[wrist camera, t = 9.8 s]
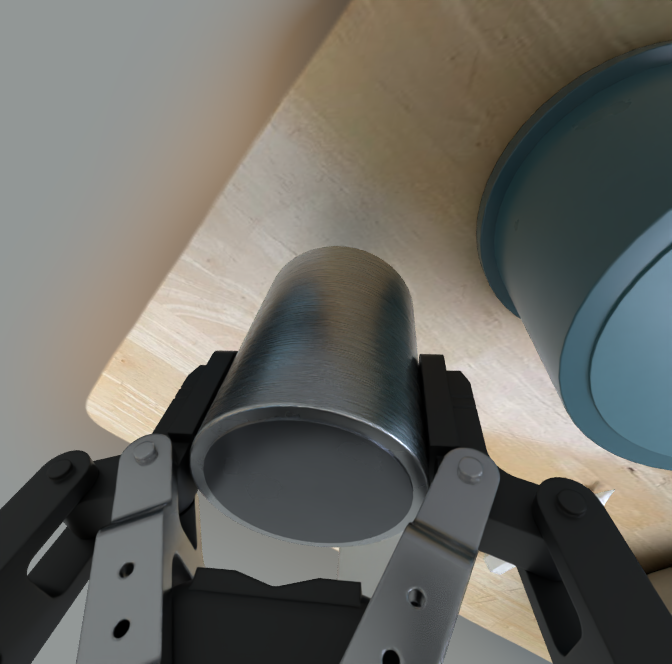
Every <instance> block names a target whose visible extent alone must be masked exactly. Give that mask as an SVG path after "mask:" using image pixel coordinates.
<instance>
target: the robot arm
mask: <svg viewBox="0 0 672 664" xmlns="http://www.w3.org/2000/svg"><path fill="white" fill-rule="evenodd" d="M237 353H238V351H215V352H214V353H213V354H212V356H211V358H210V360H209V361H208V363H207V365H200V366H199V367H198V368H196V369H195V370H194V371H193V372H192V373H190V374H189V375H188V376H187V378H186V380H185V381H184V383H183V385H182V386H181V389H179V391H178V393H177V394H176V396H175V399H173V401H172V402H171V404H170V405H169V407H168V409H167V410H166V412H165V414H164V415H163V417H162V418H161V420H160V422H159V423H158V425H157V426H156V428H155V430H154V431H153V433H152V434H149V435H146V436H143V437H141V438H139V439H137V440H135V441H134V442H132V443H131V444H130V445H129V446H128V447H127V448H126V449H125V450H124V451H123V453H122V455H118V456H114V457H110V458H105V459H101V460H96V461H92V459H91V458H90V456H89V455H88V454H87V453H86V452H83V451H79V450H76V451H69V452H66V453H63V454H61V455H58V456H57V457H55V458H53V459H51V460H50V461H49V462H47V463H46V464H45V465H44V466H43V467H42V468H41V469H40V470H39V471H38V472H37V473H36V474H35V475H34V476H33V477H32V478H31V479H30V480H29V481H28V482H27V483H26V484H25V485H24V486H23V487H22V488H21V489H20V490H19V491H18V492H17V493H16V494H15V495H14V496H13V497H12V498H11V499H10V500H9V501H8V502H7V503H6V504H5V505H4V506H3V507H2V508H1V509H0V664H31V663H32V661H33V660H34V658H35V657H36V655H37V654H38V653H39V651H40V650H41V648H42V647H43V645H44V644H45V642H46V641H47V640H48V638H49V637H50V635H51V633H52V632H53V631H54V629H55V628H56V627H57V625H58V624H59V622H60V621H61V619H62V618H63V616H64V615H65V613H66V612H67V610H68V609H69V608H70V606H71V605H72V603H73V602H74V600H75V599H76V598H77V596H78V594H79V593H80V592H81V590H82V589H83V587H84V586H85V584H86V583H87V581H88V580H89V585H88V592H87V598H86V604H85V610H84V616H83V622H82V630H81V635H80V641H79V648H78V654H77V660H76V664H443V661H444V658H445V655H446V652H447V649H448V646H449V642H450V639H451V636H452V633H453V630H454V627H455V623H456V620H457V617H458V614H459V611H460V607H461V604H462V601H463V598H464V595H465V592H466V589H467V585H468V582H469V579H470V576H471V573H472V570H473V567H474V563H475V560H476V557H477V554H478V551H481V552H484V553H486V554H489V555H491V556H493V557H496V558H498V559H501V560H503V561H505V562H508V563H510V564H513V565H515V566H516V567H517V569H518V572H519V575H520V577H521V580H522V583H523V585H524V588H525V591H526V593H527V596H528V599H529V601H530V604H531V607H532V609H533V612H534V614H535V617H536V620H537V622H538V625H539V628H540V630H541V633H542V636H543V638H544V641H545V644H546V646H547V649H548V652H549V654H550V657H551V659H552V662H553V664H672V615H671V614H670V612H669V610H668V609H667V607H666V606H665V604H664V602H663V601H662V599H661V598H660V596H659V594H658V593H657V591H656V589H655V588H654V586H653V585H652V583H651V581H650V580H649V578H648V577H647V575H646V573H645V572H644V570H643V569H642V567H641V565H640V564H639V562H638V561H637V559H636V557H635V556H634V554H633V553H632V551H631V549H630V548H629V546H628V545H627V543H626V541H625V540H624V538H623V537H622V535H621V533H620V532H619V530H618V528H617V527H616V525H615V524H614V522H613V520H612V519H611V517H610V516H609V514H608V512H607V511H606V509H605V508H604V506H603V504H602V503H601V501H600V500H599V499H598V497H597V496H596V495H595V494H594V493H593V492H592V491H591V490H589V489H588V488H587V487H585V486H584V485H582V484H580V483H578V482H576V481H573V480H571V479H567V478H561V477H555V478H549V479H546V480H545V481H543V482H542V483H541V484H540V485H538V484H535V483H532V482H529V481H526V480H523V479H520V478H517V477H514V476H512V475H510V474H508V473H506V472H505V471H503V470H502V469H500V468H499V467H498V466H497V465H496V464H495V463H494V461H493V460H492V459H491V458H490V456H489V455H488V452H487V449H486V445H485V441H484V437H483V433H482V429H481V425H480V421H479V417H478V413H477V409H476V405H475V400H474V398H473V392H472V388H471V384H470V382H469V381H468V379H467V378H466V377H465V376H464V375H463V373H462V372H461V371H446V365H445V360H444V356H443V355H440V354H420V356H419V374H420V384H421V395H422V405H423V416H424V427H425V437H426V448H427V458H428V468H429V478H430V488H429V490H428V492H427V494H426V496H425V498H424V501H423V503H422V505H421V507H420V509H419V511H418V513H417V515H416V517H415V519H414V521H413V522H409V523H408V525H407V526H406V528H405V529H404V531H403V533H402V535H401V537H400V539H399V541H398V544H397V546H396V548H395V550H394V552H393V554H392V556H391V558H390V560H389V562H388V564H387V566H386V568H385V571H384V573H383V575H382V577H381V579H380V581H379V583H378V585H377V587H376V589H375V591H374V593H373V595H372V598H369V597H367V596H365V595H362V587H361V582H355V581H344V580H332V579H322V578H318V579H312V580H307V581H302V582H297V583H292V584H287V585H282V586H270V585H268V584H266V583H264V582H261V581H259V580H257V579H254V578H252V577H250V576H247V575H245V574H243V573H241V572H238V571H236V570H226V569H215V568H205V565H204V561H203V555H202V542H201V527H200V511H199V499H198V496H197V491H198V487H197V486H196V484H195V482H194V480H193V477H192V475H191V471H190V466H189V454H190V449H191V446H192V443H193V441H194V439H195V437H196V435H197V433H198V431H199V429H200V427H201V425H202V423H203V421H204V419H205V417H206V415H207V413H208V411H209V409H210V407H211V405H212V403H213V401H214V399H215V397H216V395H217V393H218V391H219V389H220V387H221V385H222V383H223V381H224V379H225V377H226V375H227V373H228V371H229V369H230V367H231V365H232V363H233V361H234V359H235V357H236V355H237ZM62 522H64V523H65V524H66V525H67V527H66V529H65V530H64V531H63V532H62V534H61V535H60V536H59V537H58V539H57V540H56V541H55V542H54V544H53V545H52V546H51V547H50V548H49V550H48V551H47V552H46V553H45V554H44V556H43V557H42V558H41V559H40V561H39V562H38V563H37V564H36V566H35V567H34V568H33V569H32V571H31V572H30V573H29V574H28V575H27V568H28V566H29V564H30V562H31V560H32V559H33V557H34V556H35V555H36V554H37V552H38V551H39V550H40V549H41V547H42V546H43V545H44V544H45V543H46V541H47V540H48V539H49V538H50V537H51V535H52V534H53V533H54V532H55V530H56V529H57V528H58V527H59V525H61V523H62Z"/></svg>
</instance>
